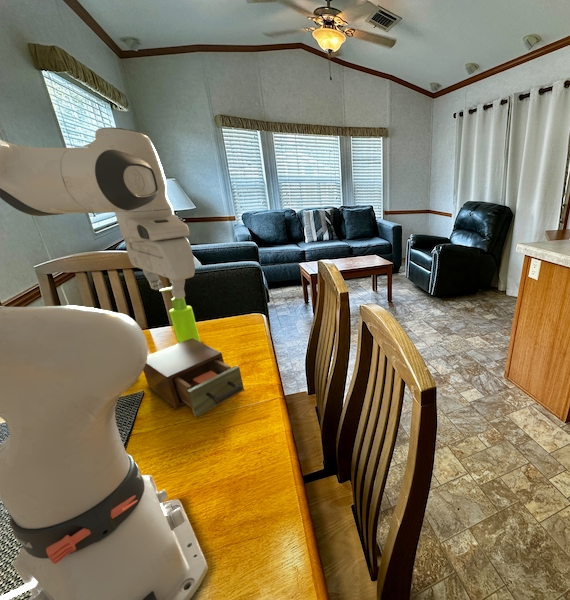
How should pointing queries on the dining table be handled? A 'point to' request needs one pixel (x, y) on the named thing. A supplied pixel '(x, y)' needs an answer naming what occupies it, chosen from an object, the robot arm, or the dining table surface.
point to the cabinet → (176, 366)
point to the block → (204, 377)
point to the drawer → (208, 386)
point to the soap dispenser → (182, 319)
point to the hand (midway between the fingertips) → (168, 293)
